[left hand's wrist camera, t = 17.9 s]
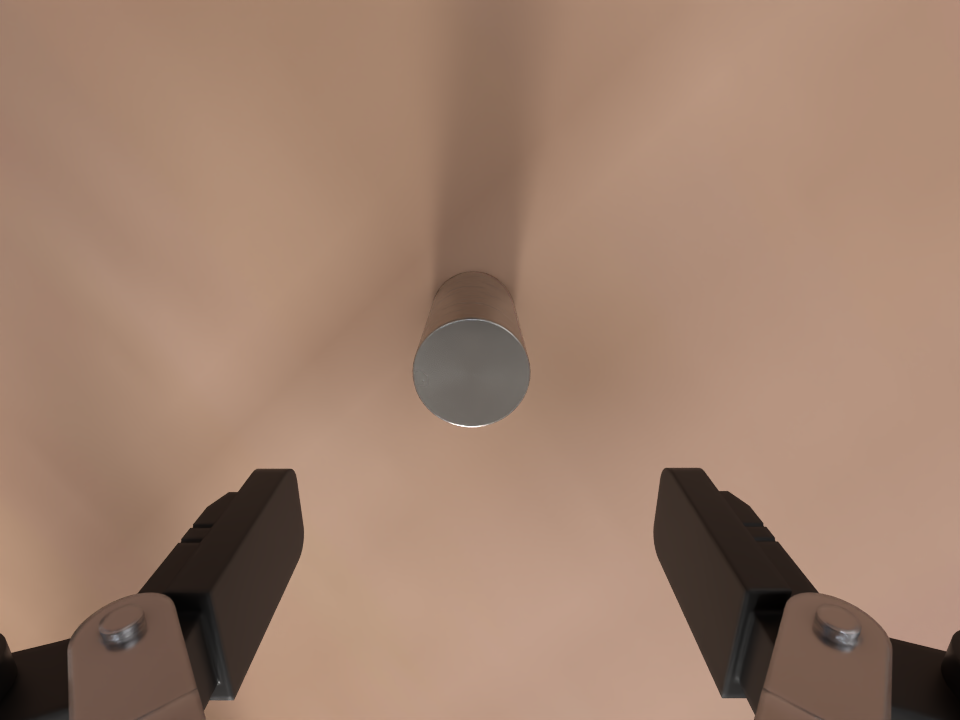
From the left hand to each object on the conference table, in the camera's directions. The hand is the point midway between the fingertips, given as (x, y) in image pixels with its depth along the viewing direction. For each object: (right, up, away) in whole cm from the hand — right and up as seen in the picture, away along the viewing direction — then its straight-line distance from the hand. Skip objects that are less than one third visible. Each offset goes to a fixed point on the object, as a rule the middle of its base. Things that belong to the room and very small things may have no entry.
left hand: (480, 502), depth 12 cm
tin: (0, +6, +16) cm, 17 cm away
